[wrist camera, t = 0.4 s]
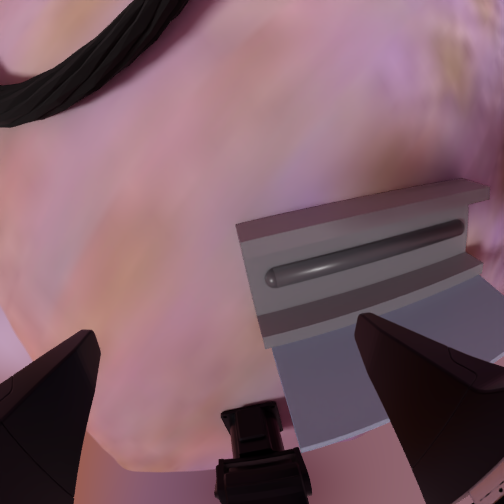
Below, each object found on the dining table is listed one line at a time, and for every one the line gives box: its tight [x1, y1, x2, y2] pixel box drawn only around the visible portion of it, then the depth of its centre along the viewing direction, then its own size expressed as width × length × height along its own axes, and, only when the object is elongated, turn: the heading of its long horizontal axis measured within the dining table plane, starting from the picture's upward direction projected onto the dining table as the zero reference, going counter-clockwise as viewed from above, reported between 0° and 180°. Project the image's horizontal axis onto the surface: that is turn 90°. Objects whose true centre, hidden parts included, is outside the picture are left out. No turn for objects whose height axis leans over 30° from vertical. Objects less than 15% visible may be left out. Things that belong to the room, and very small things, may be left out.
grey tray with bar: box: [236, 178, 490, 349], centre depth 23 cm, size 9×23×4 cm, turn 101°
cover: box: [272, 275, 504, 453], centre depth 19 cm, size 9×22×1 cm
